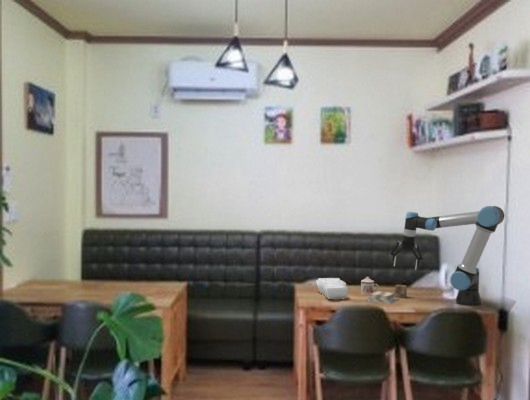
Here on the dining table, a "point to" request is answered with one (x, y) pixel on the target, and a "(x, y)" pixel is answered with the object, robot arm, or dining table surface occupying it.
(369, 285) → the teacup with lid
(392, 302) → the plan mat
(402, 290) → the walnut block
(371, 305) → the dining table surface
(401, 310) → the dining table surface
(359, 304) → the dining table surface
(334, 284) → the white wavy slab sculpture
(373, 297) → the riser block
